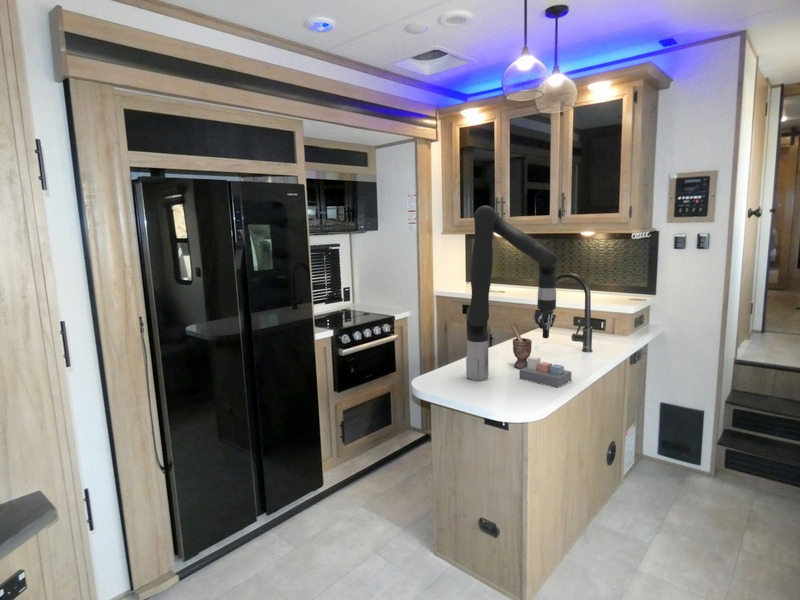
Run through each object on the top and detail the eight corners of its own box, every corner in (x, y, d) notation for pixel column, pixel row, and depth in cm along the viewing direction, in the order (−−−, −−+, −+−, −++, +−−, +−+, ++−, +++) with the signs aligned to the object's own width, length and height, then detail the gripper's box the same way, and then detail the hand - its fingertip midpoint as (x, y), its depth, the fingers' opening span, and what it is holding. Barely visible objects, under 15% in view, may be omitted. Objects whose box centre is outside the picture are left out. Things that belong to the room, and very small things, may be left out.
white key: (535, 370, 208) (535, 359, 207) (527, 368, 211) (527, 357, 210) (540, 368, 211) (540, 357, 210) (532, 366, 214) (532, 355, 213)
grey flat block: (557, 387, 197) (557, 378, 196) (519, 378, 210) (519, 369, 209) (571, 380, 205) (571, 371, 205) (533, 372, 218) (533, 363, 217)
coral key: (547, 376, 204) (547, 365, 204) (538, 374, 207) (538, 363, 206) (551, 374, 207) (551, 363, 206) (543, 372, 210) (543, 361, 209)
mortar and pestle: (503, 365, 229) (503, 325, 226) (513, 361, 235) (514, 322, 232) (524, 370, 221) (525, 328, 218) (534, 366, 227) (535, 325, 223)
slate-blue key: (559, 379, 201) (559, 368, 200) (550, 377, 203) (550, 366, 203) (563, 377, 203) (563, 365, 203) (554, 375, 206) (555, 364, 205)
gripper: (547, 300, 195) (546, 342, 197) (562, 296, 204) (561, 336, 206) (530, 299, 200) (529, 339, 203) (546, 295, 209) (545, 333, 212)
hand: (545, 337), depth 205 cm, fingers closed
